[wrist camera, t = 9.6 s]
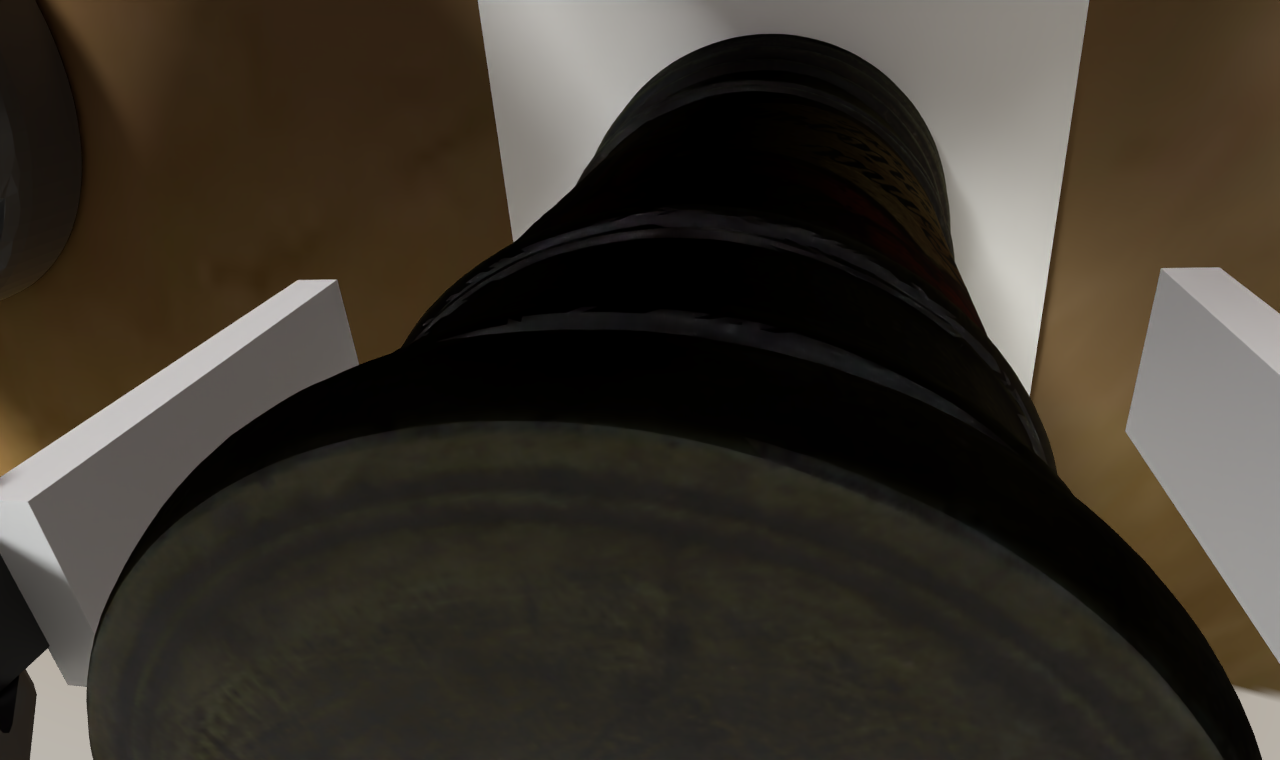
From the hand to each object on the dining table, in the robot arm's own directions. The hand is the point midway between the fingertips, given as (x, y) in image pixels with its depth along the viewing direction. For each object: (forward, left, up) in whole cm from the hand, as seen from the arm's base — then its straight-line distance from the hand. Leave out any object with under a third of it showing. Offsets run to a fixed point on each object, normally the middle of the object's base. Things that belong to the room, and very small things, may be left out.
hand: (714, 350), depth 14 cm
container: (0, 0, -9) cm, 9 cm away
